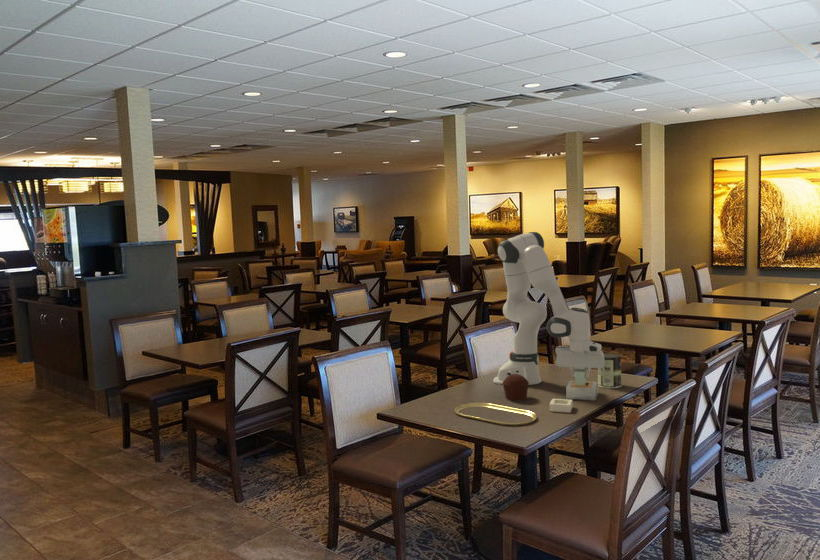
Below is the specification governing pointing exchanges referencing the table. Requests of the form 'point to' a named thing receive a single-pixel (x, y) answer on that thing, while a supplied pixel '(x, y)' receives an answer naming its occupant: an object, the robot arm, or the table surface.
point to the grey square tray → (561, 405)
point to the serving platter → (496, 408)
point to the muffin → (515, 387)
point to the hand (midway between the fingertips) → (580, 377)
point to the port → (582, 391)
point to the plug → (580, 376)
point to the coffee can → (610, 371)
